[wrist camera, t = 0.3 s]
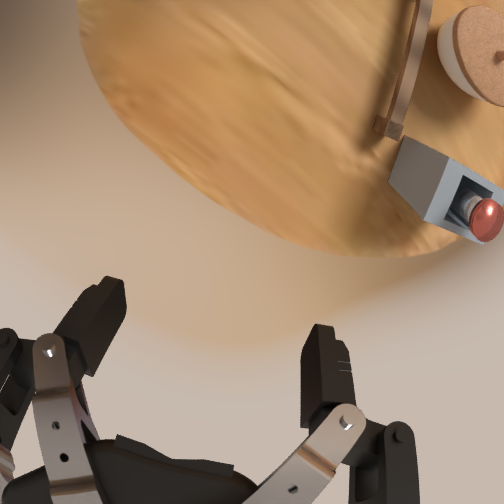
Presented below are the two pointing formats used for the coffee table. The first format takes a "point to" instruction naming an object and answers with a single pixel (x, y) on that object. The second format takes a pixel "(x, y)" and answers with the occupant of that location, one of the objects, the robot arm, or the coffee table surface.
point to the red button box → (437, 185)
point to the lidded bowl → (474, 52)
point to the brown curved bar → (406, 73)
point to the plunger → (479, 213)
